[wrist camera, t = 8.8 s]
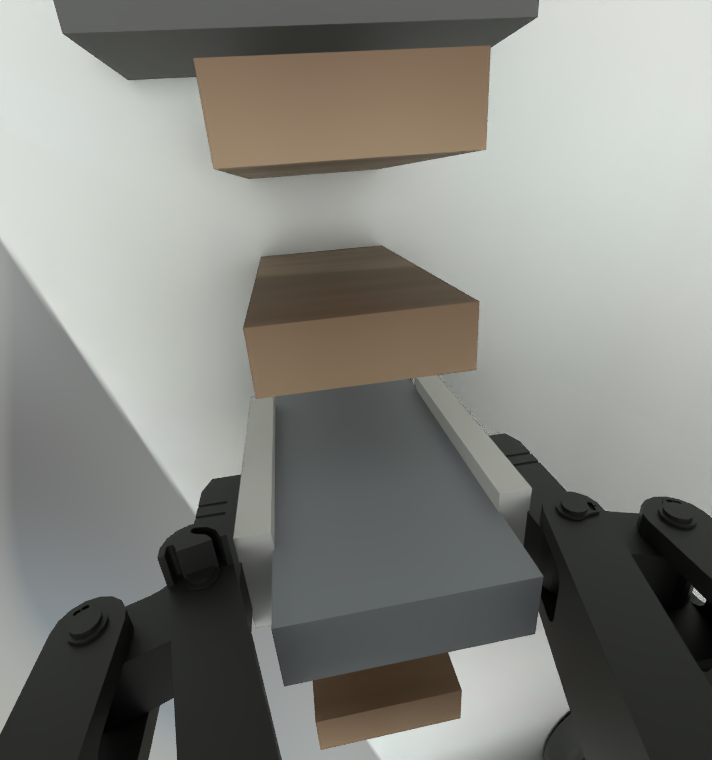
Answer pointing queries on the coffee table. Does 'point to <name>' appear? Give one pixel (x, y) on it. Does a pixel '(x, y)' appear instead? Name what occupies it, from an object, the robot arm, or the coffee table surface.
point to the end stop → (275, 28)
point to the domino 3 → (385, 538)
